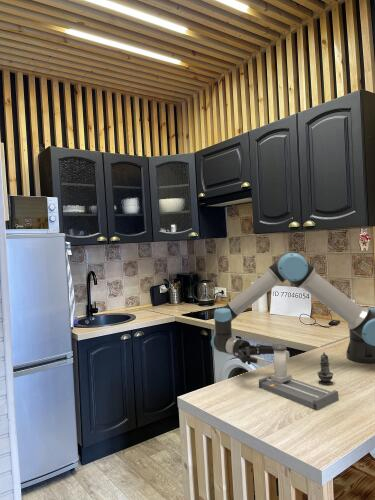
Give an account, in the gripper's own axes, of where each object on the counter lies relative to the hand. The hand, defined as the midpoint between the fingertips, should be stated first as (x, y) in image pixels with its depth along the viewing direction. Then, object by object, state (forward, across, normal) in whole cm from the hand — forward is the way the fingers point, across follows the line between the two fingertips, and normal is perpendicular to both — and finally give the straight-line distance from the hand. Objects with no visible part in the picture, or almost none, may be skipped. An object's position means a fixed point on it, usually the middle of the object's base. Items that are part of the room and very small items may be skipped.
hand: (276, 358), depth 138 cm
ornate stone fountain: (+10, -16, -11) cm, 22 cm away
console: (+8, 0, -11) cm, 14 cm away
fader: (+1, 0, -8) cm, 8 cm away
